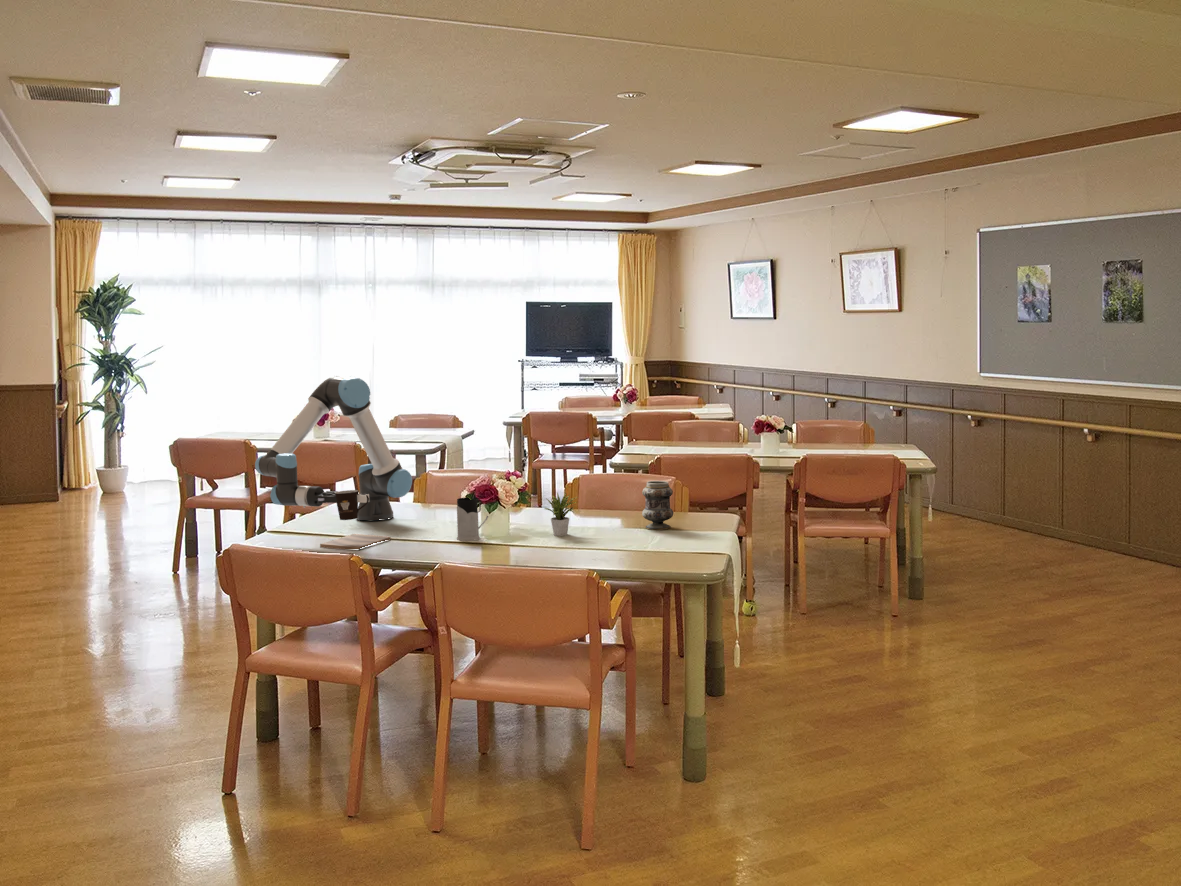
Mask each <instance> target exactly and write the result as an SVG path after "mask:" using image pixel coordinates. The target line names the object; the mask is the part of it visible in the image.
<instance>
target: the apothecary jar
mask: <svg viewBox="0 0 1181 886" xmlns="http://www.w3.org/2000/svg"><path fill="white" fill-rule="evenodd" d="M673 493H674V492H673V489H672V488H671V487H670V484H669V481H666V480H648V481H646V485H645V487H643V489H642V492H641V494H642V496H644V497H645V503H644V505H645V508H644V509H643V510H642V511H641V515H642V517H643V518H644V519H646V520H647V521H650V522H652V523H649V524H647V525H645V529H647V530H650V529H652V530H651V531H663V530H668V529H671V527H672V526H671V525H670V524H667V523H664V522H665V521H668V520H670V519H672V517H673V516H674V511H673V509H672V508H671V502H670V501H671V496H673Z"/></svg>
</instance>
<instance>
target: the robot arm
mask: <svg viewBox="0 0 1181 886" xmlns="http://www.w3.org/2000/svg"><path fill="white" fill-rule="evenodd" d="M370 396H371V390H370V386H369V385H368V383H367V382H366V381H365V380H363V379H362V378H360V377H356V376H339V375H336V376H335V375H334V376H330V377H329V378H327V379H325V380H323V381H322V382H321V383H320V384H319V385H318V386H317V387H316V389H314V391H313V392H312V393H311V394H310V396H308V398H307V399H308V400H307V401H308V402H307V403H306V404H305V406H304V407H303V409H302V410H301V411H300V412H299V413H298V414H297V416H296V417H295V418H294V419H293V420H292V422H291V423H290V425H289V426H288V427H287V429H286V430H285V431H284V432H283V433H282V435H281V436H280V437H279V438H278V439H277V441H276V442H275V444H274V445H273V446H272V447H270V450H268V452H267V453H266V454H265V455H261V456H259V457H258V458H257V459H256V460H255V462H254V468H255V471H256V472H257V473H258V474H259V475H262V476H265V477H274V478H276V484H275V485H274V486H272V487H271V490H270V494H269V495H270V496H269V497H270V500H271V503H273V504H274V505H278V506H288V507H289V506H290V507H291V506H292V507H293V506H294V507H295V506H298V507H303V508H304V509H305V508H306V507H312V508H313V507H314V508H315V507H316V508H317V507H321V506H322V505H323V504H327V503H328V504H329V503H330V504H337V499H336V496H335V492H339V491H340V490H339V491H337V490H335V491H331V490H324V489H323V488H322V486H316V485H315V486H314V485H313V486H311V485H298V484H299V483H298V460H297V455H296V454H295V453H294V452H295V451H296V450H297V448H298V447H299V446H300V445H301V443H302V442H303V441H304V440H305V438H306V437H307V436H308V435H309V433H310V432H311V431H312V430H313V428H314V427H315V426H316V424H318V422H319V421H320V420H321V418H322V417H323V416H324V415H326V414H328V413H330V411H331V410H333V408H335V407H337V406H338V407H339V409H340V411H341V413H342V415H343V417H346V418H348V419H349V421H350V423H351V425H352V427H353V429H354V431H355V433H356V435H357V437H358V438H359V441H360V443H361V445H362V447H363V449H364V451H365V453H366V455H367V457H368V459H369V461H370V463H367V464H361V465H360V466H359V467H358V483H359V484H358V487H359V493H358V495H357V497H356V499H355V501H357V502H358V509H359V508H360V507H362V506H363V505H364V504H365V503H366V502H367V497H366V495H367V496H368V497H369V501H368V503H367V504H366V505H365V506H364V507H363V508H361V509H360V510H359V511H358V518H357V519H358V520H357V519H356V520H357V521H360V520H379V519H388V518H392V517H393V518H394V510H393V508H392V506H391V502H390V500H389V499H390V498H394V499H395V498H402V497H405V496H406V495H407V494H408V493H409V492H410V490H411V487H412V485H413V477H412V474H411V473H410V471H408V470H406V469H404V468H403V467H402V465H401V463H400V460H399V459H397V458H394V457H393V455H392V452H391V451H390V449H389V447H388V445H387V442H386V441H385V438H384V436H383V434H382V432H381V430H380V427H379V426H378V424H377V422H376V419H375V417H374V416H373V414H372V412H371V410H370V406H371V404H372V402H371V400H370V399H371V397H370ZM361 494H366V495H361ZM389 497H390V498H389ZM393 518H392V519H393ZM388 520H389V519H388Z"/></svg>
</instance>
